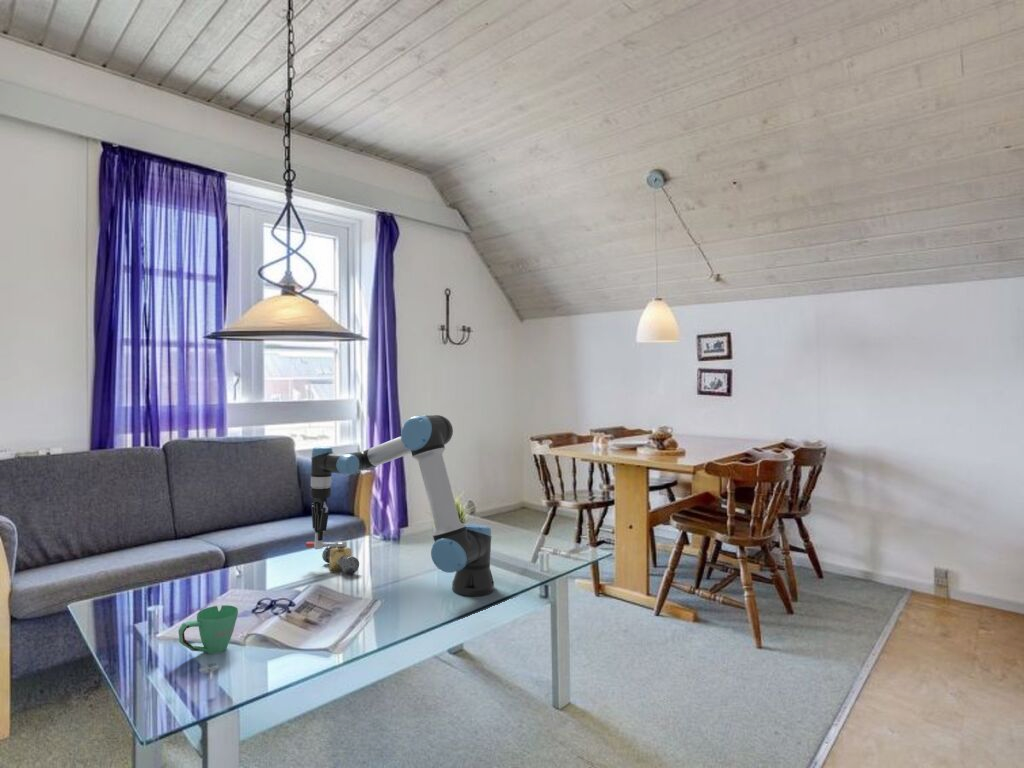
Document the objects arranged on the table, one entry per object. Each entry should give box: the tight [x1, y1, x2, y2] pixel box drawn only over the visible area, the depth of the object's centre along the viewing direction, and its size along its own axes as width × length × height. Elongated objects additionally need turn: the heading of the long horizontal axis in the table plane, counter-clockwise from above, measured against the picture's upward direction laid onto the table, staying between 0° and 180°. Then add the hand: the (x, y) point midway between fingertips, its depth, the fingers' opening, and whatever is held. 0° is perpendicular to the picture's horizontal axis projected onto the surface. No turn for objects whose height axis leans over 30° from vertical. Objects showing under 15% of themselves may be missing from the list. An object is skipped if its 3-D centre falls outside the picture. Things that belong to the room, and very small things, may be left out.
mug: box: [178, 604, 239, 655], centre depth 151 cm, size 15×10×10 cm
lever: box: [305, 540, 348, 549], centre depth 224 cm, size 15×4×2 cm, turn 99°
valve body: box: [321, 546, 360, 576], centre depth 225 cm, size 20×8×8 cm, turn 41°
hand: (318, 548), depth 221 cm, fingers closed
